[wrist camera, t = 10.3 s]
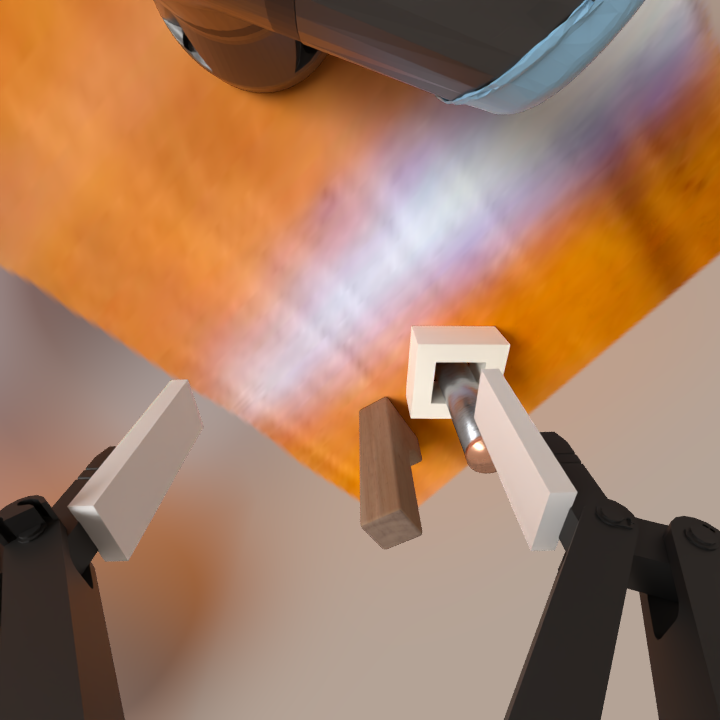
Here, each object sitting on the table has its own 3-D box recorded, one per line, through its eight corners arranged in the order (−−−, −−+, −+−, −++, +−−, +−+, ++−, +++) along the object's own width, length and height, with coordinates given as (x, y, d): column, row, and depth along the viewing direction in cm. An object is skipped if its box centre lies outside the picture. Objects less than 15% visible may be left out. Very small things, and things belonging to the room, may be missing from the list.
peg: (430, 376, 46) (463, 473, 32) (433, 347, 44) (470, 437, 30) (461, 376, 46) (509, 473, 32) (466, 347, 44) (519, 437, 30)
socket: (411, 325, 43) (417, 344, 39) (494, 326, 43) (510, 344, 39) (405, 395, 48) (410, 418, 43) (480, 395, 48) (493, 418, 44)
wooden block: (418, 438, 51) (445, 560, 36) (391, 451, 53) (406, 574, 37) (386, 394, 48) (401, 509, 32) (358, 409, 49) (358, 527, 33)
